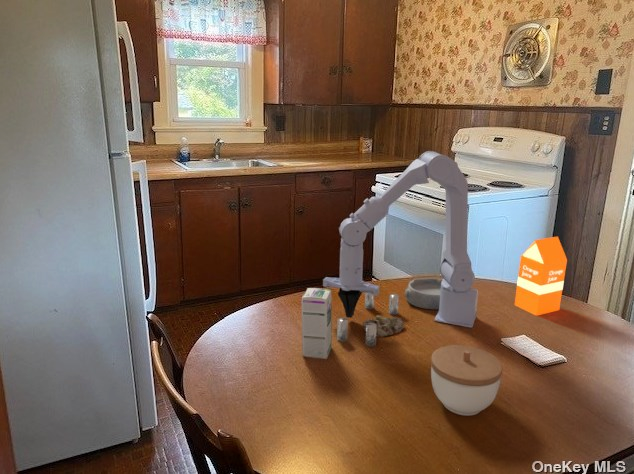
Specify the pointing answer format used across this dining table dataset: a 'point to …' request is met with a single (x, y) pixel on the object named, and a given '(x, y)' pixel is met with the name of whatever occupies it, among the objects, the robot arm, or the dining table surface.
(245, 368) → the dining table surface
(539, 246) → the orange juice
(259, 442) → the dining table surface
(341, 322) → the spacer posts
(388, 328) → the mineral rock
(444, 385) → the lidded bowl
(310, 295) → the syrup box
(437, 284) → the dish
